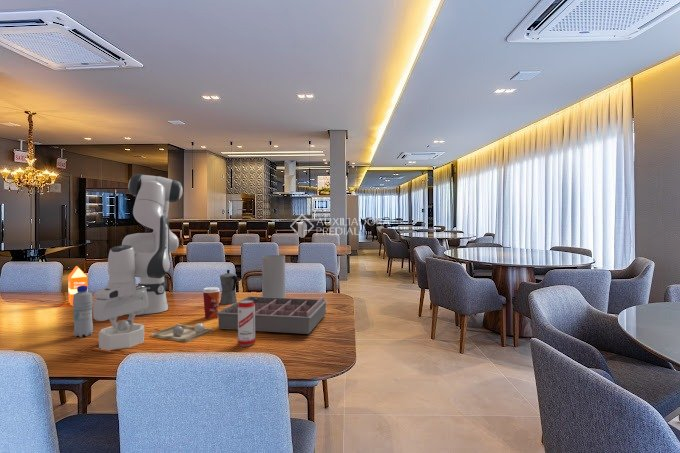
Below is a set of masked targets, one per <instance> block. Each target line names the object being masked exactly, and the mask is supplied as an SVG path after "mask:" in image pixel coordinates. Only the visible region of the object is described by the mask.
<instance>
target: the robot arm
mask: <svg viewBox="0 0 680 453" xmlns="http://www.w3.org/2000/svg"><path fill="white" fill-rule="evenodd" d="M127 187H128V193H130V195H131V196H132V197H135V200H134V205H133V208H132V215H133V217H134V219H135V221H136V222H137V223H139V224H140V225H142V226H144V227H146V228H149V229H151V230H152V232H137V233H132V234H127V235H125V237H123V240H122V242H121V245H117V246H113V247H111V248H110V249H109V252H108V259H107V272H108V276H109V277H108V281H107V285H106V286H104V287H103V288H101V289H99V290H97V291H95V292H94V294H93V295H94V296H93V297H94V299H95V300H94V302H93V304H92V319H94V320H95V321H99V322H102V321H107V320H109V321H110V323H111V324H112V326H113V329H118V328H120V324H119V322H117V320H118V317H121V316H124V315H129V316H128V318H127V319H126V321H128V322H129V325H132V324H133V323H134V318H136V316H140V315H150V314H157V313H162V312H166V311H167V310H169V304H168V301H167V293H166V290H165V289H166V281H165V276H166V275H167V274H168V273H169V272H170V269H171V258H170V253H174V252H176V251H177V250H178V248H179V245H180V244H179V243H180V241H179V238H178V236H177V235H176V234H175V233H173V232H172V230H171V229H170V222H169V219H168V218H169V207H170V203H177V202H179V201H180V199H181V198H182V196H183V190H184V189H183V186H182V183H181V181H178V180H176V179H171V178H167V177H163V176H160V175H159V176H156V175H148V174H142V173H135V174H133V175H132V176H131V177H130V179H129V181H128V186H127ZM136 278H139V283H138V284H137V282H136V281H137V280H136Z"/></svg>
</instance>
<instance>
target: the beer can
mask: <svg viewBox="0 0 680 453" xmlns="http://www.w3.org/2000/svg"><path fill="white" fill-rule="evenodd" d="M238 302H239V305H238V330H237V344H239V346H241V347H249V346H253V345H254V344H255V342H256V331H255V304H254V303H253V300H243V299H241V300H239V301H238Z"/></svg>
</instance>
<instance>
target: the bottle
mask: <svg viewBox="0 0 680 453" xmlns="http://www.w3.org/2000/svg"><path fill="white" fill-rule="evenodd" d="M87 290H88V291H87ZM77 292H78V293H76V294H74V296H73V302H72V303H73V305H72V308H73V334H74V337H76V336H79V337H78V338H82V337H83V335H84V336H86V337H88V336H91V335H92V334H93V331H94V326H93V325H94V324H93V305H94V302H93V301H94V299H93V294H92V292H90V291H89V289H87V286H84V285H82V286H79V287H77ZM90 334H91V335H90Z"/></svg>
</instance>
